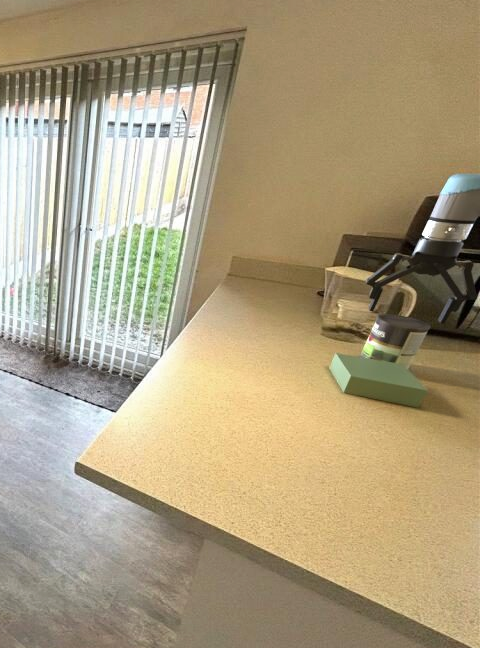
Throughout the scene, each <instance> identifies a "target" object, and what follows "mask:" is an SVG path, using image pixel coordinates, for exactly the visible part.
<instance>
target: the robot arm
mask: <svg viewBox="0 0 480 648" xmlns="http://www.w3.org/2000/svg"><path fill="white" fill-rule="evenodd" d="M479 217H480V173H456V174H453V175H451V176H449V178H448V179H447V181H446V182H445V185H444V187H443V188H442V190H441V192H439V195H438V199H437V201H436V203H435V205H434V208H433V210H432V212H431V214H430V216H429V219H428V221H427V222H426V225H425V226H424V229H423V231H422V233H421V235H422V236H423V237H419V240H418V241H417V244H416V246H415V248H414V251H413V252H412V253H411V254H410V255H407V254H403V253H400V252H396V253H394V254H393V256H392V258H391V259H390V260H389V261H388V262H387V263H386V264H384V265H383V266H382V267H381V268H379V269H377V270H376V271H375V272H374V273H373V274H371V275H370V276H369V277H367V278H366V279H365V283H366V285H367V286H370V287H371V289H370V292H369V293H368V298H369V299H370V300H371V302H370V304H369V306H368V311H369V312H374V311H375V309H376V307H377V304H378V302H379V300H380V298H381V295H382V294H383V291H384V289H383V287H384V286H387V285H389V284H391V283H393V282H395V281H398V280H399V279H401V278H403V277H405V276H407V275H411V274H412V273H415V274H417V275H428V276H432V277H435V276H439V275H440V277H441V279H442V280H443V281H444V283H445V284H446V285H447V287H448V289H449V290H450V292H451V293H452V295H453V296H454V297H451V296H450V297H449V298H448V300H447V302H446V304H445V306H444V307H443V309H442V311H441V312H440V315H439V317H438V318H437V321H438V323H440V324H443V325H445V324H446V322H447V320H448V319H449V316H450V314H451V313H452V312H453V313H457V312H458V311H459V309H460V307H461V305H462V304H463V302H465V301H470V300H471V301H475V300H478V295H477V290H476V286H475V281H474V277H473V276H474V275H473V273H472V271H473V268H474V266H475V265H474V262H473V261H471V260H467V259H466V260H457V258H458V257H459V254H460V252H461V250H462V248H463V246H464V240H467V238H468V236H469V234H470V232H471V230H472V228H473V226H474V224H476V221H477V219H478V218H479ZM405 261H407V263H408V265H406V266H404V267H403V268H401V269H399V270H397V271H395V272H393V273H391V274H389V275H387V276H385V275H386V274H387V273H388V272H390V271H391V270H392V269H394V268H395V267H396V266H397V265H399V264H402V263H403V262H405ZM454 267H457V269H459V270H460V272H461V276H462V281H463V286H464V289H465V293H462V291H461V290H460V288H459V287H458V286H457V284H456V283H455V280H454V279H453V278H452V276H451V275H450V273H449V272H448V271H449V270H451V269H453V268H454ZM384 276H385V277H384ZM382 277H383V278H382Z"/></svg>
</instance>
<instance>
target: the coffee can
mask: <svg viewBox="0 0 480 648" xmlns="http://www.w3.org/2000/svg"><path fill="white" fill-rule="evenodd" d="M430 329H431V325H430V324H429V323H427V322H425V321H422V320H420V319H417V318H414V317H411V316H410V317H409V316H406V315H401V314H392V313H382V314H378V315H377V316H376V320H375V322H374V324H373V326H372V328H371V330H370V333H369V336H368V338H367V340H366V341H365V344H364V347H363V348H362V351H361V353H360V355H359V357H362V358H368V359H374V360H380V361H386V362H392V363H398V364H403V365H404V366H405V367H406V368H407V369H408V370H409V368H410V366H411V365H412V362H413V361H414V358H415V356H416V355H417V353H418V351H419V349H420V347H421V345H422V344H423V341H424V340H425V337H426V336H427V334H428V331H430Z"/></svg>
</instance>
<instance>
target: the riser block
mask: <svg viewBox="0 0 480 648" xmlns="http://www.w3.org/2000/svg"><path fill="white" fill-rule="evenodd" d="M328 368H329V371H330V372H331V374H332V375H333V377H334V379H335V381H336V382H337V384H338V385H339V387H340V388H341V391H342V393H344V394H349V395H354V396H359V397H363V398H368V399H374V400H378V401H383V402H389V403H392V404H398V405H404V406H408V407H412V408H413V407H414V408H419V407H420V405H421V404H422V401H423V400H424V398H425V396H426V394H427V393H428V389H427V388H426V387H425V386H424V385H423V384H422V382H420V380H418V379H417V377H416V376H415V375H414V374H413V373H412V372H411V371H410V370H409V368H408V369H407V368H406V367H405V366H404V365H403V364H398V363H392V362H386V361H380V360H374V359H368V358H362V357H360V356H356V355H350V354H345V353H339V352H335V353H334V355H333V358H332V361H331V363H330V365H329V367H328Z"/></svg>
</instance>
